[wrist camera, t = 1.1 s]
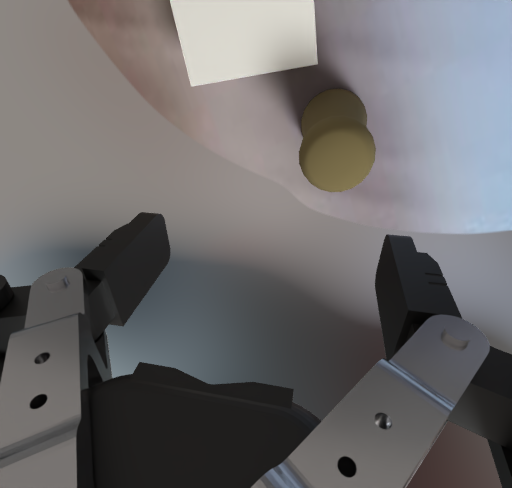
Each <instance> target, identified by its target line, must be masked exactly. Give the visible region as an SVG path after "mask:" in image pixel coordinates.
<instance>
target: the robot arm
mask: <svg viewBox="0 0 512 488" xmlns="http://www.w3.org/2000/svg"><path fill="white" fill-rule="evenodd" d="M169 258H170V245H169V240H168V235H167V230H166V224H165V220H164V217H163V216H162V215H161V214H155V213H144V212H142V213H139V214H138V215H137V216H136V217H135V218H134V219H133V220H132V221H131V222H130V223H129V224H126V225H124V226H122V227H120V228H118V229H116V230H114V231H113V232H112V233H111V234H110V235H109V236H108V237H107V238H106V240H104V241H103V242H102V243H100V244H99V247H96V248H95V249H94V250H93V251H92V252H91V253H90V254H88V255H87V256H86V257H85V258H84V259H83V260H82V261H81V262H80V263H79V264H78V265H76V266H75V267H74V268H60V269H56V270H53V271H50V272H48V273H46V274H44V275H42V276H41V277H39V278H38V279H37V280H36V281H35V282H34V283H33V284H32V285H31V286H21V287H10V285H9V284H8V282H7V280H6V278H5V277H4V276H2V275H0V488H406V487H407V485H408V483H409V482H410V480H411V478H412V477H413V475H414V474H415V472H416V470H417V469H418V467H419V466H420V464H421V462H422V461H423V459H424V458H425V456H426V455H427V453H428V451H429V450H430V448H431V447H432V445H433V443H434V442H435V440H436V439H437V437H438V435H439V434H440V432H441V431H442V429H443V428H444V426H445V424H446V423H447V421H450V422H452V423H454V424H457V425H459V426H461V427H463V428H465V429H467V430H469V431H472V432H474V433H476V434H478V435H480V436H482V437H484V438H486V439H487V440H488V443H489V446H490V449H491V452H492V456H493V459H494V462H495V465H496V468H497V472H498V475H499V478H500V482H501V484H502V488H512V355H511V354H509V353H506V352H503V351H501V350H498V349H496V348H494V347H491V346H490V345H489V342H488V340H487V338H486V336H485V335H484V334H483V333H482V332H481V331H480V330H479V329H478V328H477V327H476V326H474V325H473V324H471V323H469V322H468V321H465V320H464V319H462V317H461V315H460V313H459V310H458V308H457V306H456V303H455V301H454V299H453V296H452V295H451V292H450V290H449V288H448V286H447V283H446V281H445V278H444V277H443V274H442V272H441V269H440V267H439V265H438V263H437V262H436V261H435V260H434V259H433V258H431V257H430V256H429V255H428V254H427V253H420V252H417V251H416V248H415V245H414V242H413V240H412V238H411V237H409V236H397V235H386V237H385V239H384V243H383V247H382V251H381V255H380V259H379V263H378V267H377V272H376V279H375V290H376V296H377V302H378V309H379V315H380V321H381V328H382V334H383V341H384V347H385V353H386V359H384V358H383V359H382V360H380V361H379V362H378V363H377V364H376V365H375V366H374V367H373V368H372V369H371V370H370V371H369V372H368V373H367V374H366V375H365V376H364V377H363V378H362V380H360V381H359V383H358V384H357V385H356V386H355V387H354V388H353V389H352V390H351V391H350V392H349V393H348V394H347V395H346V396H345V397H344V398H343V399H342V401H341V402H340V403H339V404H338V405H337V406H336V407H335V408H334V409H333V410H332V411H331V412H330V413H329V414H328V415H327V417H326V418H324V420H323V421H321V420H320V419H319V418H318V417H316V416H315V415H314V414H312V413H311V412H310V411H308V410H307V409H305V408H303V407H302V406H300V405H298V404H295V403H293V402H292V401H293V389H290V388H284V387H279V386H273V385H267V384H262V383H256V382H246V383H231V384H216V385H211V384H207V383H205V382H203V381H201V380H199V379H197V378H194V377H192V376H190V375H188V374H186V373H184V372H182V371H180V370H178V369H176V368H171V367H165V366H159V365H154V364H148V363H142V362H140V363H139V364H138V366H137V367H136V369H135V371H134V373H133V374H129V375H124V376H119V377H116V378H112V371H111V363H110V355H109V347H108V339H107V334H106V331H105V329H106V327H107V326H108V325H109V324H111V325H118V326H124V325H125V323H126V322H127V320H128V319H129V318H130V316H131V315H132V313H133V312H134V310H135V309H136V307H137V306H138V305H139V303H140V302H141V301H142V299H143V298H144V296H145V295H146V294H147V292H148V291H149V289H150V288H151V286H152V285H153V284H154V282H155V281H156V279H157V278H158V277H159V275H160V274H161V272H162V271H163V269H164V268H165V267H166V265H167V264H168V262H169Z"/></svg>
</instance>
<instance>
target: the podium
mask: <svg viewBox="0 0 512 488" xmlns="http://www.w3.org/2000/svg"><path fill="white" fill-rule="evenodd" d="M170 3H171V7H172V11H173V15H174V19H175V23H176V27H177V31H178V35H179V39H180V43H181V47H182V51H183V55H184V59H185V63H186V67H187V71H188V75H189V79H190V83H191V87H192V86H198V85H203V84H209V83H215V82H220V81H226V80H232V79H237V78H243V77H248V76H254V75H260V74H265V73H271V72H277V71H282V70H288V69H294V68H299V67H305V66H311V65H316V64H318V60H317V43H316V27H315V10H314V0H170Z"/></svg>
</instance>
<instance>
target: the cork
mask: <svg viewBox="0 0 512 488" xmlns="http://www.w3.org/2000/svg"><path fill="white" fill-rule="evenodd" d="M366 124H367V114H366V110H365V106H364V104H363V103H362V102H361V100H360V99H359V97H358V96H356V95H355V94H353V93H352V92H351V91H347V90H344V89H340V88H339V89H329V90H326V91H324V92H322V93H319V94H318V95H317V96H315V97H314V98H313V99H312V100H311V101H310V102H309V104H308V105H307V107H306V108H305V110H304V113H303V116H302V120H301V131H302V134H303V140H302V144H301V147H300V151H299V164H300V166H301V169H302V172H303V174H304V176H305V177H306V178H307V179H308V181H309V182H310V183H311V184H312V185H314V186H316V187H317V188H319V189H321V190H325V191H328V192H342V191H345V190H348V189H352V188H353V187H355V186H356V185H358V184H359V183H361V182H362V181H363V180H364V179H365V177H366V176H367V175H368V174H369V172H370V170H371V168H372V165H373V163H374V161H375V151H376V148H375V144H374V140H373V136H372V135H371V133H370V132H369V130H368V129H367V127H366Z"/></svg>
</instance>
